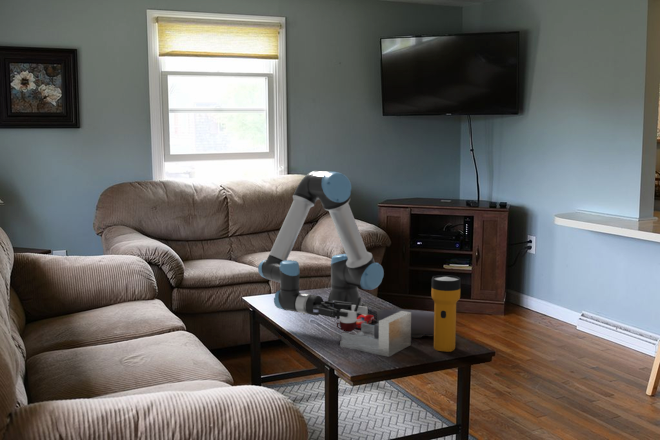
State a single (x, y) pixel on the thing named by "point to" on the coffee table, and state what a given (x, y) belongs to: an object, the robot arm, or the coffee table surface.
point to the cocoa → (348, 321)
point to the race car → (364, 320)
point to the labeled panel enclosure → (382, 336)
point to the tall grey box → (376, 330)
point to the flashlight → (445, 310)
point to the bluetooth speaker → (413, 320)
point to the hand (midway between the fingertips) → (361, 313)
